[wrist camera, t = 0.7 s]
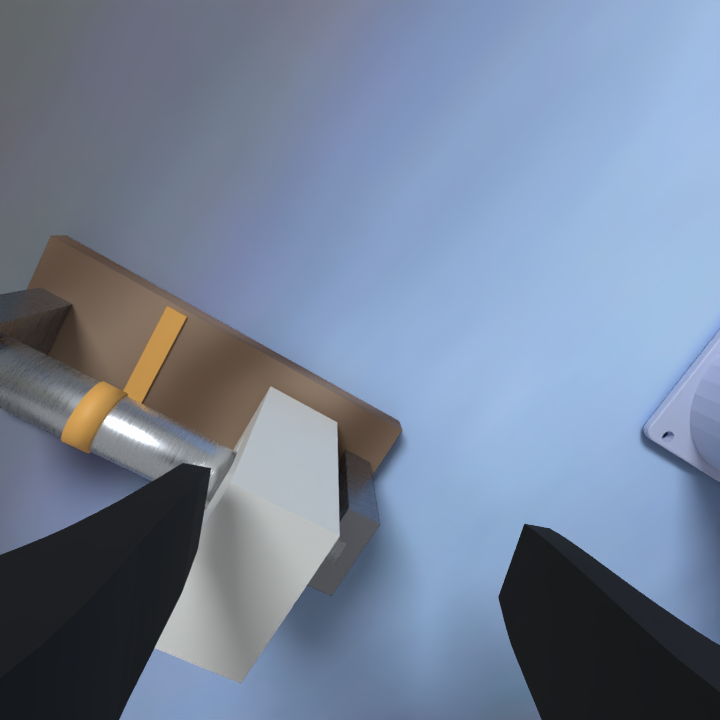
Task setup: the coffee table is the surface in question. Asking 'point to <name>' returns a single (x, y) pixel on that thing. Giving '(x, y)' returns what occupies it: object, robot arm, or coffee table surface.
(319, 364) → the coffee table surface
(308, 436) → the white block on rod
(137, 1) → the coffee table surface
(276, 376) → the rod jig
